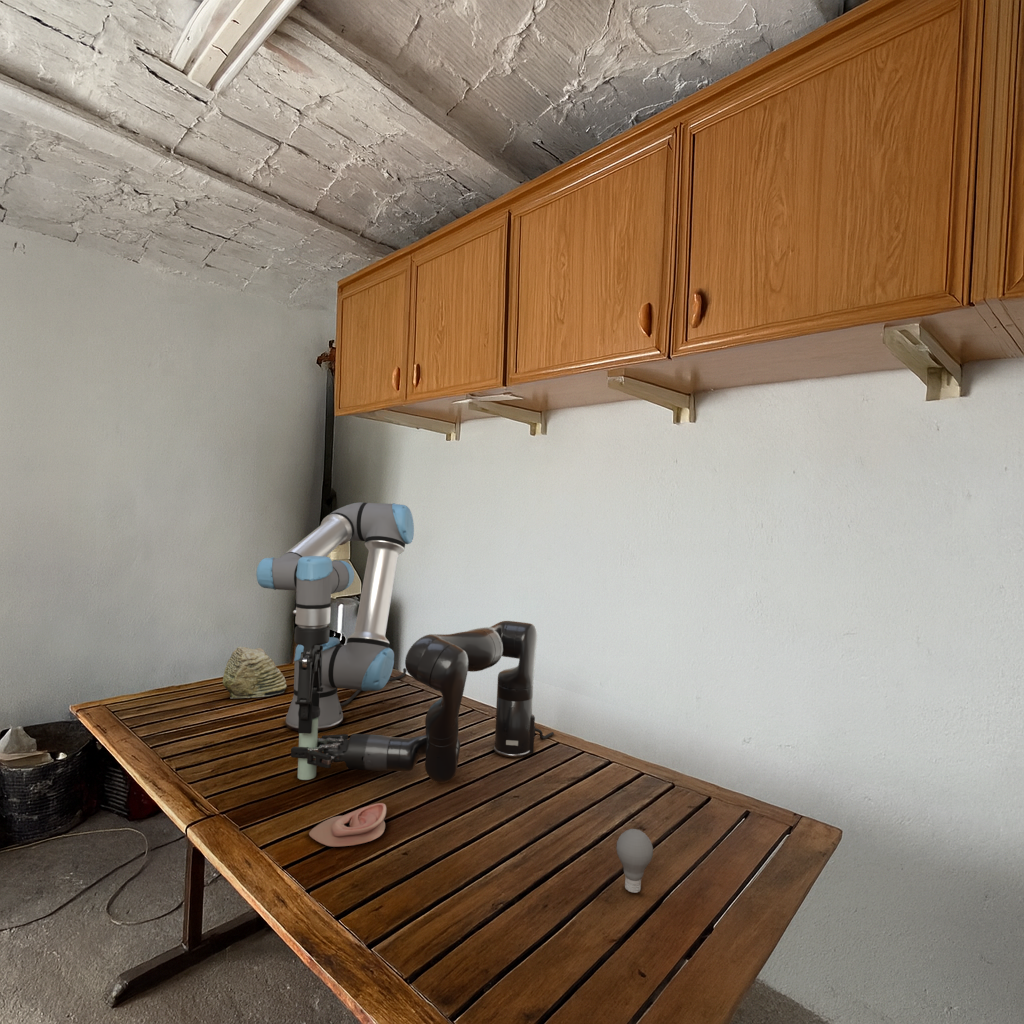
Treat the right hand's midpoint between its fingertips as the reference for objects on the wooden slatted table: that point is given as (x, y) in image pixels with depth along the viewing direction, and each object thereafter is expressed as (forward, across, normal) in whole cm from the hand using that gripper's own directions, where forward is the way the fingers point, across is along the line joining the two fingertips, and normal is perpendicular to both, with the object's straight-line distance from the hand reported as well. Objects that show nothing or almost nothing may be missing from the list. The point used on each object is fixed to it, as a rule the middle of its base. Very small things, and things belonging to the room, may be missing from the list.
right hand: (295, 747), depth 143 cm
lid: (-3, 0, -9) cm, 9 cm away
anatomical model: (-19, +22, +6) cm, 30 cm away
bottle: (-3, 0, +6) cm, 7 cm away
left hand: (-3, 0, -5) cm, 6 cm away
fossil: (+34, -54, +6) cm, 63 cm away
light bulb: (-71, +35, +6) cm, 79 cm away
